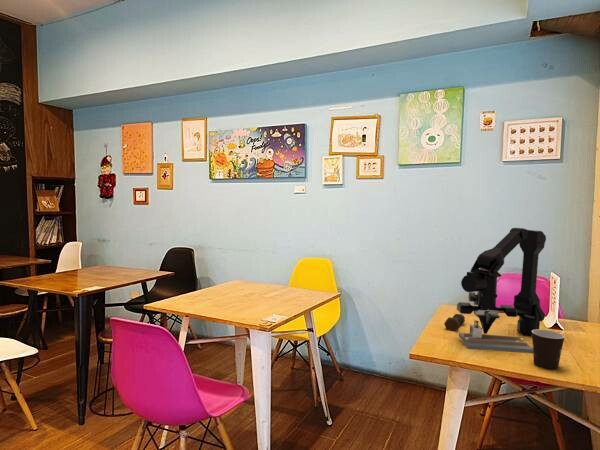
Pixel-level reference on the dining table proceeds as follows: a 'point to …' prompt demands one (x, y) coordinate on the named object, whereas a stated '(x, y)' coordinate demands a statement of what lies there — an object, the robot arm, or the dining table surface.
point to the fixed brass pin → (521, 339)
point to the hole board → (496, 343)
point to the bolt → (454, 322)
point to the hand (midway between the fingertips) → (485, 333)
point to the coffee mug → (547, 348)
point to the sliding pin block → (475, 331)
